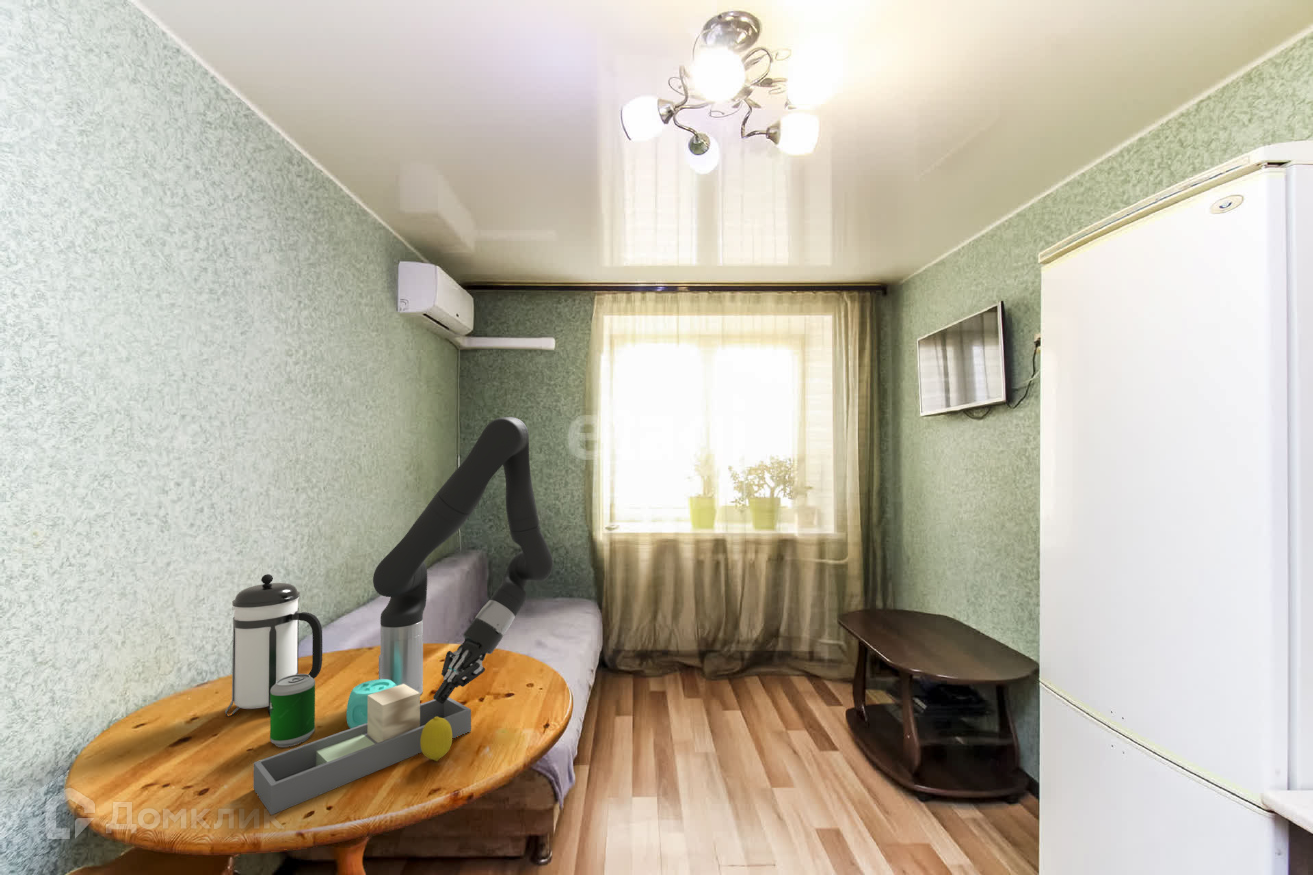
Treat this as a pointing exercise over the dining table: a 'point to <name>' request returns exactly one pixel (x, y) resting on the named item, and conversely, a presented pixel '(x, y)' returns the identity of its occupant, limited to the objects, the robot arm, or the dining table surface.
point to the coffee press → (267, 641)
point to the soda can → (292, 710)
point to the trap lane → (344, 758)
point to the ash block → (393, 712)
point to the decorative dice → (363, 700)
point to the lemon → (436, 738)
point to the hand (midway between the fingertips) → (437, 700)
